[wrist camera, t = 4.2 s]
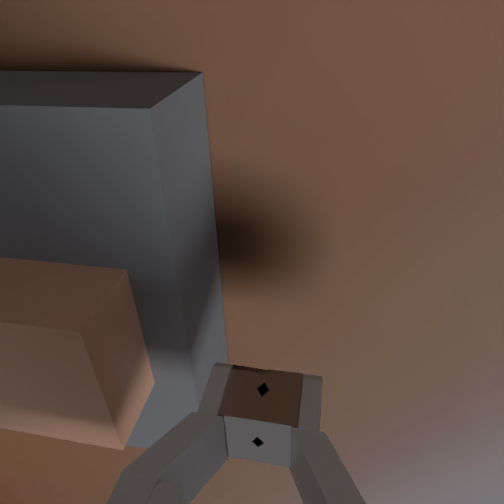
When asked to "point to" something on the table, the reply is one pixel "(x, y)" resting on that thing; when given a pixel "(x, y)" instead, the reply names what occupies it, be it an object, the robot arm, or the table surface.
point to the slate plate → (122, 209)
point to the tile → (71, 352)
